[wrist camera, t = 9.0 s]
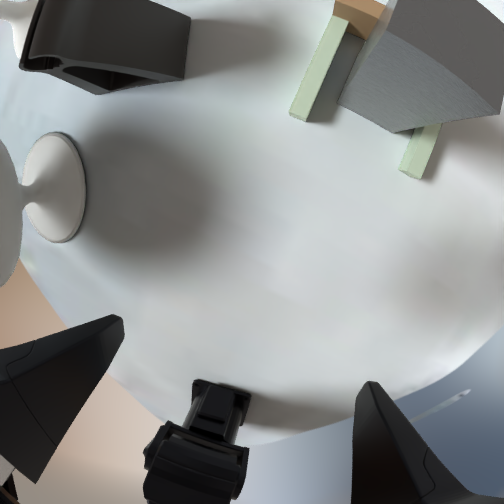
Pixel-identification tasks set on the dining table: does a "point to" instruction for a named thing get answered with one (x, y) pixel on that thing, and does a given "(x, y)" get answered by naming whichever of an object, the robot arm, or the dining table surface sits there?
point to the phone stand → (106, 43)
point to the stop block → (428, 65)
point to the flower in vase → (18, 20)
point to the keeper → (343, 19)
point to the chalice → (40, 196)
